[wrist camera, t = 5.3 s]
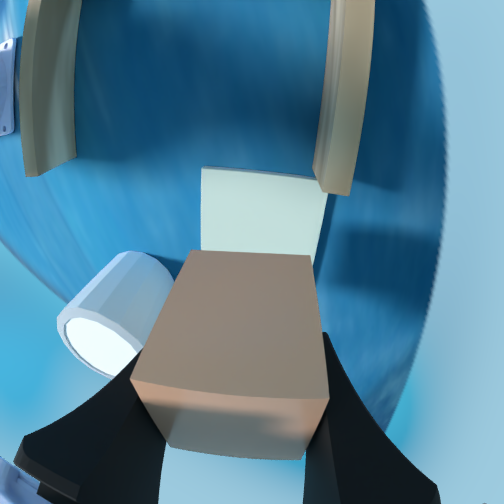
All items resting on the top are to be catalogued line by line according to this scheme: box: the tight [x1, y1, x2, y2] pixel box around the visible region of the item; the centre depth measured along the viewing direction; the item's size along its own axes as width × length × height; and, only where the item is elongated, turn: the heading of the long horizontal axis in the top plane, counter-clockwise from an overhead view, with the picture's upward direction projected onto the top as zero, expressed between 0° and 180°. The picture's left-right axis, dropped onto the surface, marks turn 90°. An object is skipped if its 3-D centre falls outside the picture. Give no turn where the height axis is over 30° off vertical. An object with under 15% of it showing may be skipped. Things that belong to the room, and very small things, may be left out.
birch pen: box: [19, 0, 375, 196], centre depth 10 cm, size 17×13×4 cm
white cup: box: [57, 251, 174, 379], centre depth 18 cm, size 7×7×7 cm
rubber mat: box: [201, 166, 328, 266], centre depth 17 cm, size 7×8×1 cm
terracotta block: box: [130, 250, 330, 460], centre depth 9 cm, size 4×4×6 cm
